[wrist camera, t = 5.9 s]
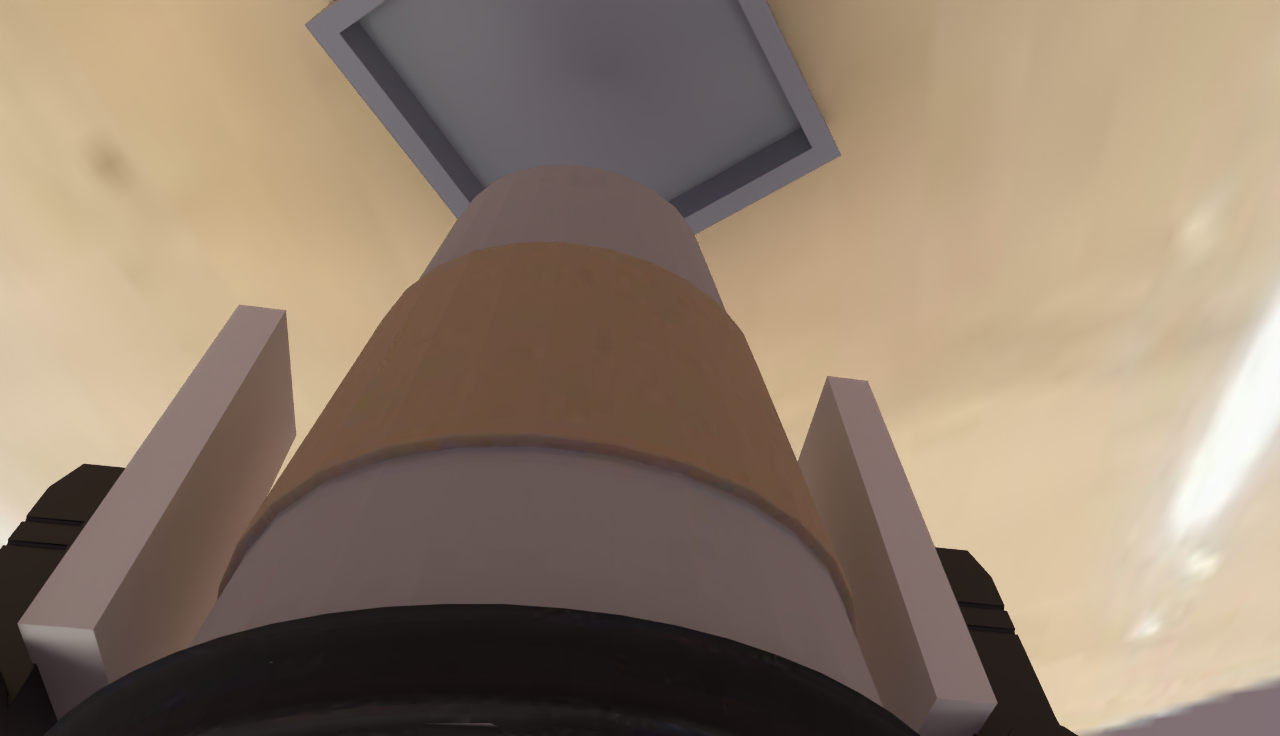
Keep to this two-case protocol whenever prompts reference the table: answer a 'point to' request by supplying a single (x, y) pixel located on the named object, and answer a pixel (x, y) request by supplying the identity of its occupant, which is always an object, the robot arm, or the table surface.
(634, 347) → the coffee cup
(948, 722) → the robot arm
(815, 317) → the table surface
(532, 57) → the tray
